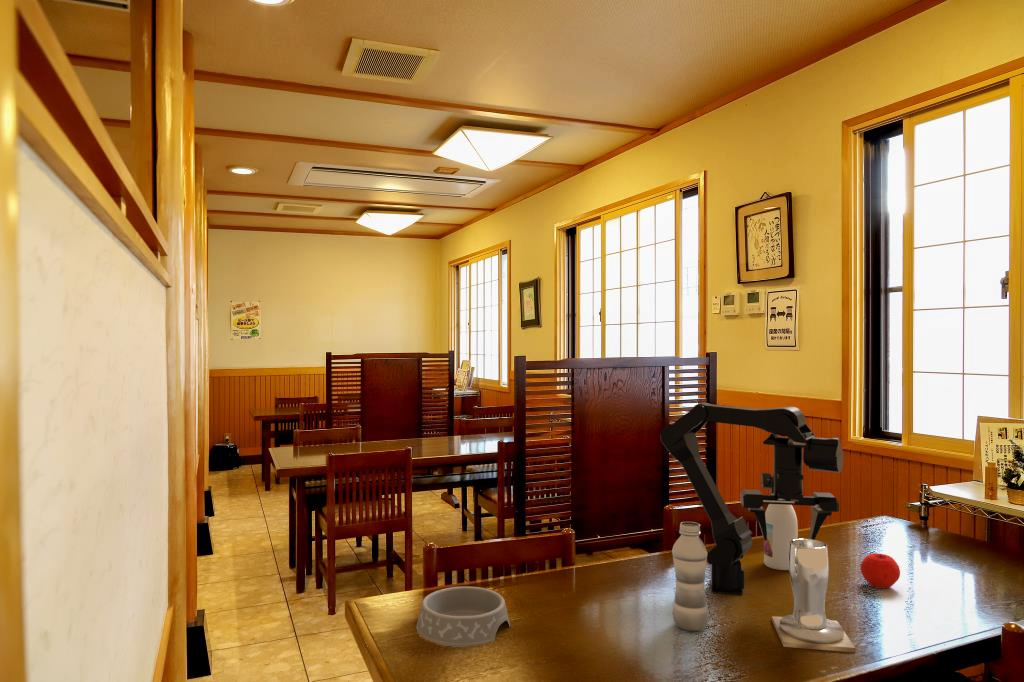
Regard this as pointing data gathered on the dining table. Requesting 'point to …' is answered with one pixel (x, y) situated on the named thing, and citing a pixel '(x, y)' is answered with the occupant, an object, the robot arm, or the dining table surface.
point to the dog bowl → (461, 616)
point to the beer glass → (809, 582)
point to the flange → (812, 632)
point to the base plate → (791, 642)
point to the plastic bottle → (690, 579)
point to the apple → (880, 570)
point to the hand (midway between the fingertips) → (788, 541)
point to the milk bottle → (779, 535)
